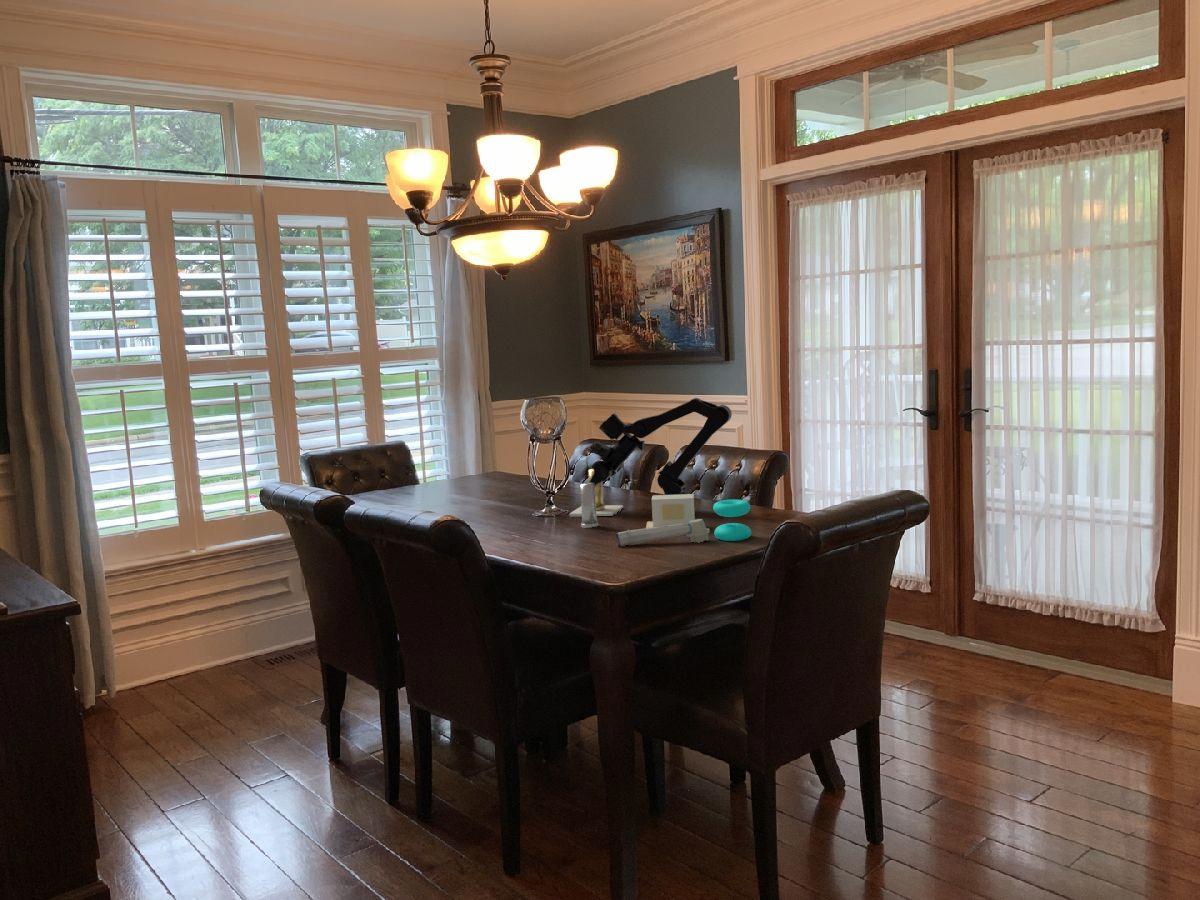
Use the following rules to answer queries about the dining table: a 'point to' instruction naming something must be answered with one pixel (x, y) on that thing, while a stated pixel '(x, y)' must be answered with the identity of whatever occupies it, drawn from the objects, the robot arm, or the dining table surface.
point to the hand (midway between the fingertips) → (591, 485)
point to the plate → (608, 511)
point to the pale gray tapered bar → (665, 533)
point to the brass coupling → (597, 492)
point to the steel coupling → (588, 505)
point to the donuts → (732, 529)
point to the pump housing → (671, 510)
